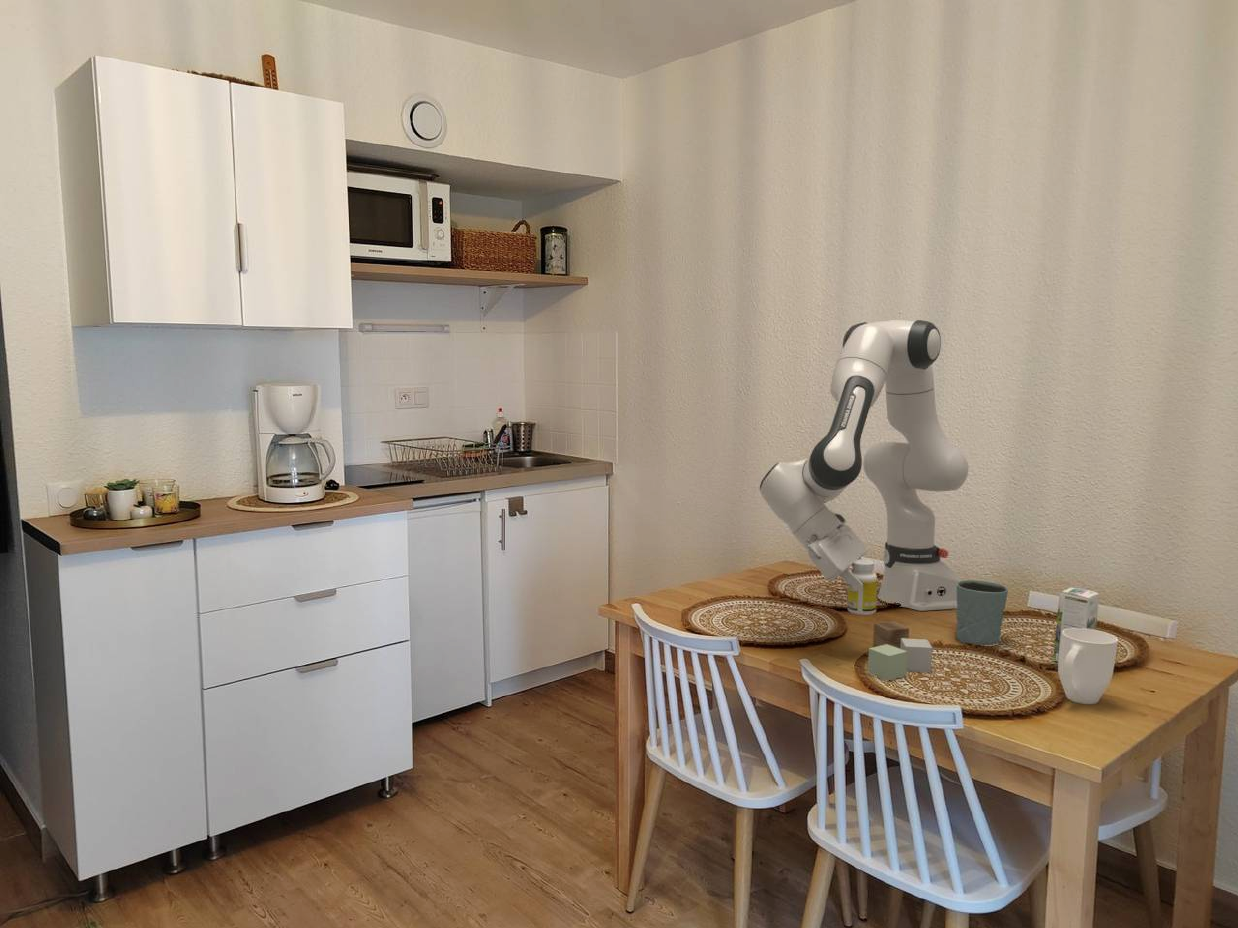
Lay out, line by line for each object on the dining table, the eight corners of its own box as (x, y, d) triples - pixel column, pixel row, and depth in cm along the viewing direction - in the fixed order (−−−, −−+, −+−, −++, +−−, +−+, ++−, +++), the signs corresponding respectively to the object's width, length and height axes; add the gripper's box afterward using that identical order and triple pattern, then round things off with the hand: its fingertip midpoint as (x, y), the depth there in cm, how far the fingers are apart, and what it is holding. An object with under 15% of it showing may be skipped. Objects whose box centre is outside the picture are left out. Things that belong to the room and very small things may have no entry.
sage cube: (885, 668, 176) (886, 644, 176) (906, 676, 172) (907, 651, 171) (867, 673, 173) (868, 648, 173) (888, 681, 169) (889, 655, 169)
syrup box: (1063, 655, 185) (1068, 586, 183) (1094, 662, 181) (1099, 591, 179) (1052, 661, 181) (1057, 591, 179) (1084, 669, 177) (1089, 597, 175)
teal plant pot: (943, 635, 197) (946, 581, 196) (981, 631, 200) (985, 578, 199) (975, 649, 188) (978, 593, 186) (1015, 645, 191) (1018, 590, 189)
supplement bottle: (878, 609, 184) (880, 560, 183) (873, 616, 179) (875, 566, 177) (850, 605, 186) (851, 557, 185) (844, 613, 181) (846, 563, 180)
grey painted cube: (925, 663, 179) (927, 639, 179) (930, 672, 174) (932, 647, 174) (899, 662, 180) (900, 638, 179) (904, 671, 175) (905, 646, 174)
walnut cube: (893, 644, 191) (894, 621, 190) (908, 651, 186) (909, 628, 186) (873, 646, 190) (874, 623, 189) (887, 654, 185) (888, 630, 184)
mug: (1068, 685, 168) (1075, 623, 166) (1118, 701, 161) (1126, 636, 159) (1038, 700, 160) (1045, 635, 158) (1090, 717, 154) (1098, 650, 152)
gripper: (815, 531, 175) (864, 587, 171) (844, 513, 192) (889, 563, 189) (792, 551, 177) (840, 606, 174) (822, 531, 195) (866, 581, 192)
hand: (865, 584), depth 182 cm, fingers closed on supplement bottle, 6 cm apart
